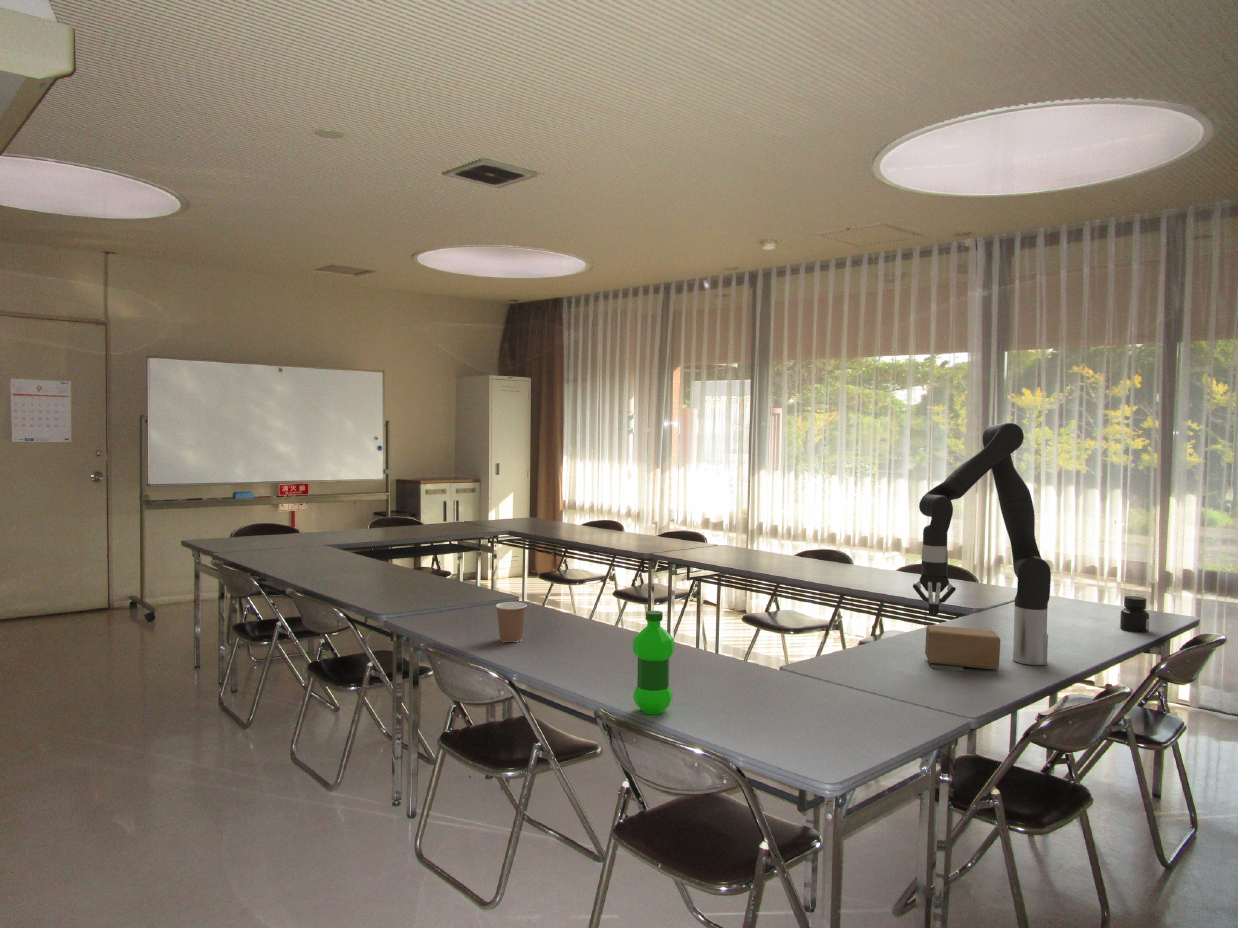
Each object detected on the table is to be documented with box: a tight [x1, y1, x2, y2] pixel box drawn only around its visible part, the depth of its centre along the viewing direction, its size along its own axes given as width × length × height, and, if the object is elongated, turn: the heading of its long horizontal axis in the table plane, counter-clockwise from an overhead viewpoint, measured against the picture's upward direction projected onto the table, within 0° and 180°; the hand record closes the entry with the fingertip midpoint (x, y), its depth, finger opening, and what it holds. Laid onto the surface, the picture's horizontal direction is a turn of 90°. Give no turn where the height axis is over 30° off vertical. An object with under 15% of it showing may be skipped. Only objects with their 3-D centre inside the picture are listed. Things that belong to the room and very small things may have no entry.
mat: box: [930, 663, 964, 672], centre depth 252 cm, size 9×13×1 cm
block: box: [924, 624, 1001, 670], centre depth 252 cm, size 10×10×20 cm
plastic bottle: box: [632, 610, 675, 715], centre depth 207 cm, size 10×10×25 cm
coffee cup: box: [495, 601, 528, 643], centre depth 275 cm, size 10×10×12 cm
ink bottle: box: [1119, 595, 1150, 634], centre depth 300 cm, size 10×9×12 cm
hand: (933, 615), depth 253 cm, fingers closed
